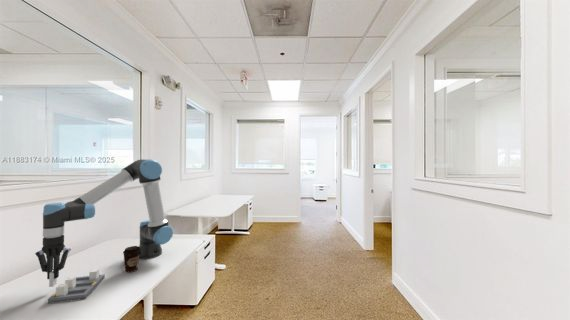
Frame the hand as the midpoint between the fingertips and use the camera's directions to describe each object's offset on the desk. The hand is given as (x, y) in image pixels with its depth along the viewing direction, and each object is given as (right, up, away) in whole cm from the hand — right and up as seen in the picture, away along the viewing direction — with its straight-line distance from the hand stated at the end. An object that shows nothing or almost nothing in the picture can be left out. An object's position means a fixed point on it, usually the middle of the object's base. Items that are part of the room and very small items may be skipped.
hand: (52, 285), depth 118 cm
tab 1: (+9, -2, -5) cm, 10 cm away
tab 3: (+11, -2, +11) cm, 16 cm away
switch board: (+10, -4, +3) cm, 11 cm away
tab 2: (+7, -2, +2) cm, 7 cm away
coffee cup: (+22, -4, +24) cm, 33 cm away
